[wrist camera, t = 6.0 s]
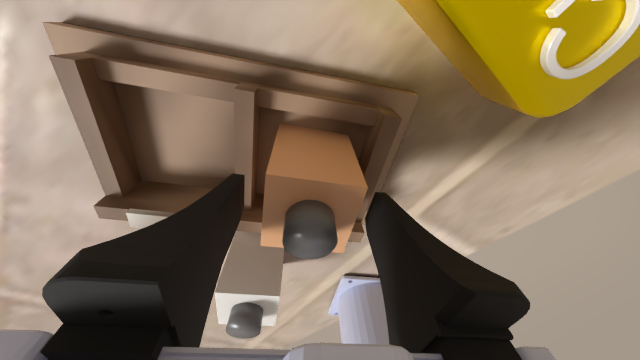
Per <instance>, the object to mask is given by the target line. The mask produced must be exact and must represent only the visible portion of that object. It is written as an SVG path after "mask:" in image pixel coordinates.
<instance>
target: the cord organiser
mask: <svg viewBox="0 0 640 360" xmlns="http://www.w3.org/2000/svg"><path fill="white" fill-rule="evenodd" d="M43 25H44V27H45V30H46V32H47V35H48V38H49V40H50V43H51V45H52V48H53V50H54V53H55V55H50V56H49V57H50V60H51V62H52V65H53V67H54V70H55V72H56V74H57V77H58V79H59V82H60V84H61V87H62V89H63V92H64V94H65V97H66V99H67V102H68V104H69V106H70V109H71V111H72V114H73V116H74V119H75V121H76V124H77V126H78V129H79V131H80V134H81V136H82V139H83V141H84V143H85V146H86V148H87V151H88V153H89V156H90V158H91V161H92V163H93V166H94V168H95V171H96V173H97V175H98V178H99V180H100V183H101V185H102V188H103V190H104V193H105V195H106V196H105V197H104V198H102V199H101V200H100V201H99V202H98V203H97V204H95V205H94V208H95V210H96V212H97V214H98V217H99V218H103V219H114V220H124V221H129V224H130V226H131V227H135V228H145V227H147V226H150V225H152V224H154V223H156V222H158V221H161V220H163V219H165V218H167V217H169V216H171V215H173V214H175V213H177V212H179V211H180V210H182V209H184V208H186V207H187V206H189V205H191V204H192V203H194V202H195V201H197V200H198V199H200V198H201V197H203V196H204V195H205V194H207V193H208V192H209V191H211V190H212V189H213V188H215V187H216V186H217V185H219V184H220V183H221V182H222V181H224V180H225V179H226V178H227V177H229V176H230V175H231V174H241V175H245V189H244V208H243V212H242V216H241V219H240V222H239V225H238V227H237V230H236V231H242V232H253V233H261V229H262V216H263V202H264V189H265V175H266V171H267V167H268V164H269V160H270V156H271V153H272V149H273V146H274V142H275V139H276V135H277V131H278V128H279V124H286V125H292V126H298V127H304V128H310V129H316V130H322V131H328V132H334V133H340V134H346V135H348V136H349V139H350V141H351V144H352V147H353V149H354V152H355V155H356V157H357V160H358V163H359V165H360V168H361V171H362V173H363V176H364V179H365V181H366V184H367V186H368V189H367V192H366V194H365V197H364V200H363V202H362V205H361V208H360V210H359V213H358V216H357V218H356V221H355V224H354V226H353V229H352V231H351V234H350V237H349V239H348V241H349V242H361V239H362V237H363V235H364V231H363V227H362V224H364V225H366V224H365V217H366V214H367V212H368V209H369V207H370V204H371V202H372V199H373V196H374V194H375V192H381V189H382V187H383V184H384V182H385V180H386V177H387V175H388V172H389V170H390V167H391V165H392V163H393V160H394V158H395V155H396V153H397V150H398V148H399V146H400V143H401V141H402V138H403V136H404V134H405V131H406V129H407V126H408V124H409V121H410V119H411V117H412V114H413V112H414V109H415V107H416V104H417V102H418V100H419V97H420V96H419V95H418V94H416V93H414V92H411V91H406V90H401V89H396V88H391V87H386V86H381V85H375V84H370V83H365V82H360V81H355V80H350V79H345V78H340V77H335V76H330V75H325V74H320V73H315V72H310V71H305V70H299V69H294V68H289V67H284V66H279V65H274V64H269V63H264V62H259V61H254V60H249V59H244V58H239V57H234V56H229V55H223V54H218V53H213V52H208V51H203V50H198V49H193V48H188V47H183V46H178V45H173V44H168V43H163V42H158V41H153V40H147V39H142V38H137V37H132V36H127V35H122V34H117V33H112V32H107V31H102V30H97V29H92V28H87V27H82V26H77V25H71V24H66V23H61V22H43Z"/></svg>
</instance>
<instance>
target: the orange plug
mask: <svg viewBox="0 0 640 360" xmlns="http://www.w3.org/2000/svg"><path fill="white" fill-rule="evenodd" d="M367 189H368V186H367V184H366V181H365V179H364V176H363V173H362V171H361V168H360V165H359V163H358V160H357V157H356V155H355V152H354V149H353V147H352V144H351V141H350V139H349V136H348V135H346V134H340V133H334V132H328V131H322V130H316V129H310V128H304V127H298V126H292V125H286V124H279V128H278V131H277V135H276V139H275V142H274V146H273V149H272V153H271V156H270V160H269V164H268V167H267V171H266V175H265V189H264V202H263V216H262V229H261V242H260V246H268V247H279V248H285V250H286V251H287V252H288V253H290V254H291V255H293V256H295V257H298V258H302V259H317V258H321V257H324V256H326V255H328V254H329V253H331V252H336V253H344V250H345V247H346V245H347V242H348V239H349V237H350V234H351V231H352V229H353V226H354V224H355V221H356V218H357V216H358V213H359V210H360V208H361V205H362V202H363V200H364V197H365V194H366V192H367Z"/></svg>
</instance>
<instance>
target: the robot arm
mask: <svg viewBox="0 0 640 360" xmlns="http://www.w3.org/2000/svg"><path fill="white" fill-rule="evenodd" d="M244 189H245V175H241V174H231V175H230V176H229V177H227V178H226V179H225V180H224V181H222V182H221V183H220V184H219V185H217V186H216V187H215V188H213V189H212V190H211V191H209V192H208V193H207V194H205V195H204V196H203V197H201V198H200V199H198V200H197V201H195V202H194V203H192V204H191V205H189V206H187V207H186V208H184V209H182V210H180V211H179V212H177V213H175V214H173V215H171V216H169V217H167V218H165V219H163V220H161V221H158V222H156V223H154V224H152V225H150V226H147V227H145V228H143V229H140V230H138V231H135V232H132V233H130V234H127V235H124V236H122V237H119V238H116V239H113V240H110V241H107V242H103V243H100V244H97V245H94V246H91V247H87V248H84V249H82V250H80V251H79V252H78V253H77V254H76V255H75V256H74V257H73V258H72V259H71V260H70V261H69V262H68V263H67V264H66V265H65V266H64V267H63V268H62V269H61V270H60V271H59V272H58V273H57V274H56V275H55V276H53V277H52V278H51V279H50V280H49V281H48V282H47V284H46V285H45V286H44V287H43V293H42V295H43V298H44V300H45V302H46V303H47V305H48V306H49V307H50V308H51V309H52V310H53V312H54V313H55V314H56V315H57V316H58V318H59V319H60V320H61V321H62V322H63V325H62V326H61V327H60V328H59V329H58V331H57V332H56V333H55V334H54V335H53V334H52V333H49V332H45V331H35V330H5V329H1V330H0V360H556V359H555V357H554V356H553V355H552V353H551V352H550V351H549V349H548V348H545V347H519V348H514V346H513V345H512V343H511V342H510V340H512V339H513V335H512V334H511V332H510V331H509V329H508V328H509V327H510V326H511V325H513V324H514V323H516V322H517V321H518V320H519V319H521V318H522V317H523V316H524V315H525V314H526V313H527V312H528V310H529V309H530V302H529V301H528V299H527V298H526V296H525V295H524V294H523V293H522V292H521V290H520V289H519V288H518V287H517V285H516V284H515V283H514V282H512V281H510V280H508V279H506V278H504V277H502V276H500V275H497V274H495V273H493V272H491V271H489V270H487V269H485V268H484V267H482V266H480V265H478V264H476V263H474V262H473V261H471V260H469V259H467V258H466V257H464V256H462V255H461V254H459V253H458V252H456V251H455V250H453V249H451V248H450V247H448V246H447V245H446V244H444V243H443V242H441V241H440V240H439V239H437V238H436V237H435V236H433V235H432V234H431V233H429V232H428V231H427V230H426V229H424V228H423V227H422V226H421V225H420V224H419V223H417V222H416V221H415V220H414V219H413V218H412V217H411V216H410V215H409V214H407V213H406V212H405V211H404V210H403V209H402V208H401V207H400V206H399V205H398V204H397V203H396V202H395V201H394V200H393V199H392V198H391V197H390V196H388V195H387V194H386V193H381V192H375V194H374V196H373V199H372V202H371V204H370V207H369V209H368V212H367V214H366V217H365V224H366V231H367V236H368V239H369V243H370V246H371V249H372V253H373V256H374V259H375V263H376V266H377V269H378V273H379V277H380V278H373V277H359V276H343V277H342V278H341V280H340V283H339V285H338V288H337V290H336V293H335V295H334V298H333V300H332V303H331V305H330V308H329V310H328V312H329V315H333V316H339V322H340V331H341V340H342V343H311V344H304V345H301V346H298V347H296V348H293V349H292V350H273V349H235V348H199V346H200V342H201V338H202V334H203V330H204V326H205V323H206V319H207V315H208V312H209V308H210V304H211V301H212V297H213V294H214V290H215V287H216V283H217V280H218V277H219V273H220V270H221V267H222V264H223V261H224V258H225V256H226V253H227V251H228V249H229V246H230V244H231V242H232V239H233V237H234V235H235V232H236V230H237V227H238V225H239V222H240V219H241V216H242V212H243V208H244Z"/></svg>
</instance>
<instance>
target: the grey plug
mask: <svg viewBox="0 0 640 360" xmlns="http://www.w3.org/2000/svg"><path fill="white" fill-rule="evenodd" d="M260 242H261V233H253V232H242V231H236V233H235V236H234V239H233V242H232V245H231V247H230V250H229V253H228V256H227V259H226V262H225V265H224V268H223V271H222V274H221V276H220V279H219V282H218V285H217V288H216V291H215V298H216V307H217V316H218V324H227V327H226V332H227V334H229V335H230V336H233V337H236V338H252V337H255V336H257V335H259V334H260V330H261V325H263V326H275V322H276V316H277V310H278V304H279V298H280V289H281V279H282V269H283V259H284V249H285V248H279V247H268V246H260Z"/></svg>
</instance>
